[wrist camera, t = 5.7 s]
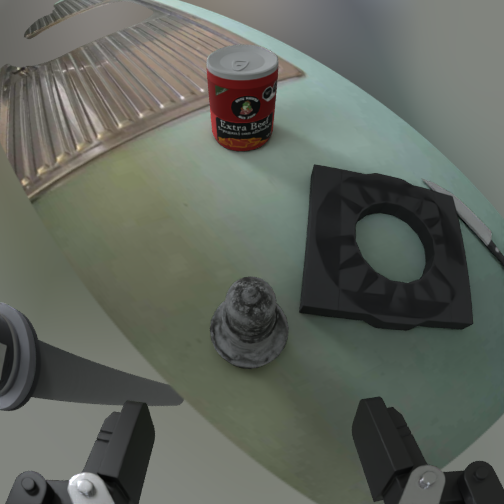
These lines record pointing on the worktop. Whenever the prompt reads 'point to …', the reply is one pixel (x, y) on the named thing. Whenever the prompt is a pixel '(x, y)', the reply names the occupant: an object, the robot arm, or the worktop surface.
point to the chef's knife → (471, 221)
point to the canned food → (242, 95)
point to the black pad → (361, 273)
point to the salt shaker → (249, 324)
